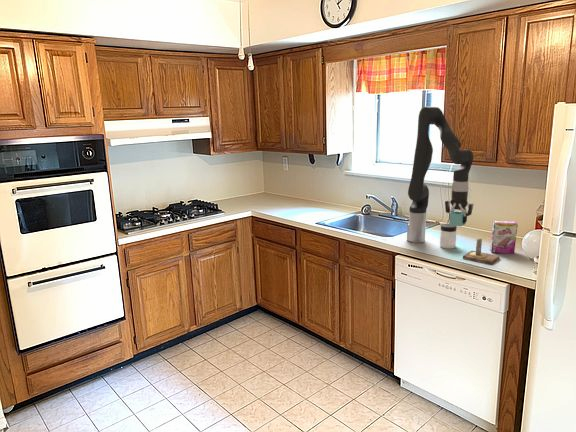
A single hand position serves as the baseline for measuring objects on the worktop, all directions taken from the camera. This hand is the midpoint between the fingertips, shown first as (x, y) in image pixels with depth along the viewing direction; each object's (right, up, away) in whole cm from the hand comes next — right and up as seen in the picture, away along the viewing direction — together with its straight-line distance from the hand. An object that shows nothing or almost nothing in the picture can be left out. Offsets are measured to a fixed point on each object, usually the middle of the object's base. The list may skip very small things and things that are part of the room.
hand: (457, 222), depth 223 cm
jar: (+1, -14, +18) cm, 23 cm away
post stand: (+11, -18, -3) cm, 21 cm away
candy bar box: (+26, -16, +6) cm, 31 cm away
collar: (0, -1, 0) cm, 1 cm away
